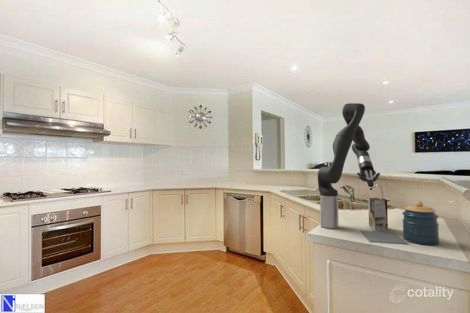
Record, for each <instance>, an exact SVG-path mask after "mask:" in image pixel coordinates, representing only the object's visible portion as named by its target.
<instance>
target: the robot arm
mask: <svg viewBox="0 0 470 313" xmlns="http://www.w3.org/2000/svg"><path fill="white" fill-rule="evenodd" d="M341 111H342V112H341V113H342V117H343V119H344V122H345V123H346V125H345V127H343V128H342V129H341V130H339V131H338V133H336V135H335V138H334V140H333V142H332V151H333V160H332V163H331V165H330V166H322V167H320V168H319V169H318V171H317V186H318V191H319V199H320V200H319V206H320V207H319V216H320V217H319V220H320V221H319V222H320V227H321V228H325V229H338V228H339V193H338V189H336V188H334V187H333V184H337V183H339V182H340V180H341V178H342V174H343V170H344V167H345V162H346V159H347V157H348V153H349V150H350V148H351V151H352V153H354V154H355V156H356V159H357V165H358V168H359V172H357V173H356V177H357V178H358V179H359V180H361V181H362V182H364V183H365V182H366V183H367V186H368V187H369V188H373V187H374V185H375V184H374V183H375V182H376V181H377V180H378V179H379V177H380V176H381V173H380V172H376V170H375V168H374V165H373V162H372V159H371V157H370V153H369V152H368V151H369V150H370V148H371V147H370V143H369V142H368V141H367V139H366V136H365V133H364V130H363V127H361V126H360V123H361V121H362V119H363V117H364V114H365V111H366V106H365V104H363V103H360V102H359V103H351V102H350V103H345V104H344V105H343V107H342V110H341ZM352 143H353V144H352Z"/></svg>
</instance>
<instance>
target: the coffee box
mask: <svg viewBox="0 0 470 313" xmlns="http://www.w3.org/2000/svg"><path fill="white" fill-rule="evenodd" d="M367 204H368V227H369V228H370V229H371V231H380V232H389V224H388V222H389V221H388V220H389V218H388V199H384V198H381V197H368V198H367Z"/></svg>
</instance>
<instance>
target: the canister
mask: <svg viewBox="0 0 470 313" xmlns="http://www.w3.org/2000/svg"><path fill="white" fill-rule="evenodd" d="M401 213H402V215H403V219H401V220H402V231H403V232H402V236H403V240H404V241H406V242H408V243H409V242H410V243H413V244H417V245H426V246H437V245H439V243H440V237H439V223H438V218H439V217H440V216H439V215H438V214H436V209H434V208H432V206H428V205H424V203H423V201H416V202H415V204H410V205H409V204H408V205H407V206H405V207H404V211H402V212H401Z"/></svg>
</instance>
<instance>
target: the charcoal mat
mask: <svg viewBox="0 0 470 313" xmlns="http://www.w3.org/2000/svg"><path fill="white" fill-rule="evenodd" d="M360 232H361V233H362V235H363V236H364V237H365V238H366V240H368V241H369V242H370V243H381V244H397V245H409V242H408V241H407V240H405V239H404V238H402V237H401V236H399V235H398V234H397V233H395V232H394V231H393V232H392V231H388V232H380V231H374V230H362V229H361V230H360Z"/></svg>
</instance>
